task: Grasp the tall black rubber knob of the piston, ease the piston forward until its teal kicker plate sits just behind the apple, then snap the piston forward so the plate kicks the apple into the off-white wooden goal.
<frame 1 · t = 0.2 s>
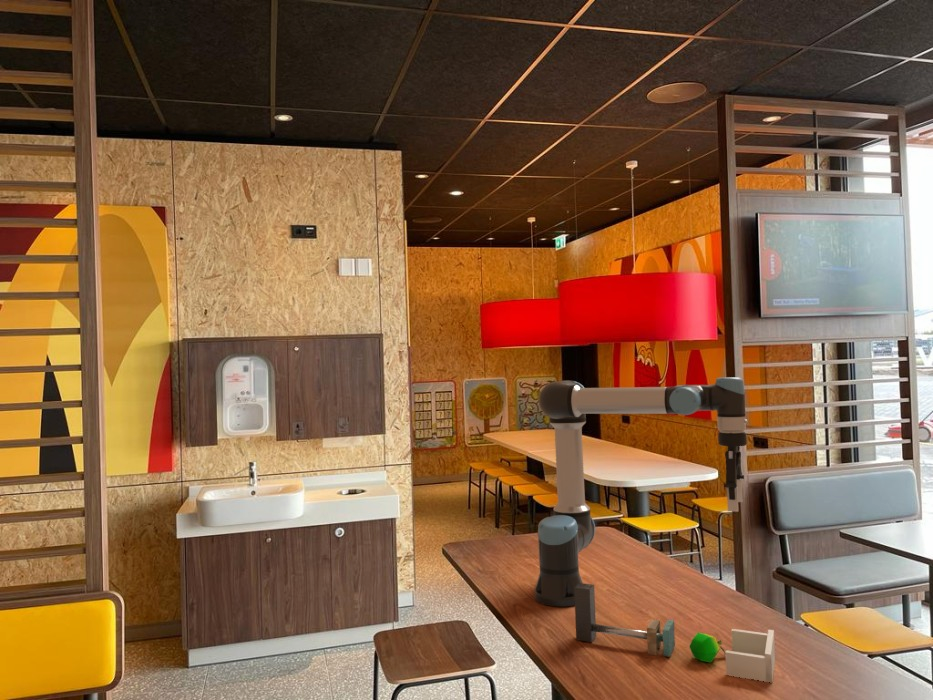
hand: (735, 506, 188), 28 cm above the table, fingers open, 13 cm apart
apple: (708, 659, 155), on the table
goal: (751, 665, 150), on the table
bearing block: (654, 650, 160), on the table
piston: (622, 617, 164), point 7 cm above the table, slide at 0.0 cm
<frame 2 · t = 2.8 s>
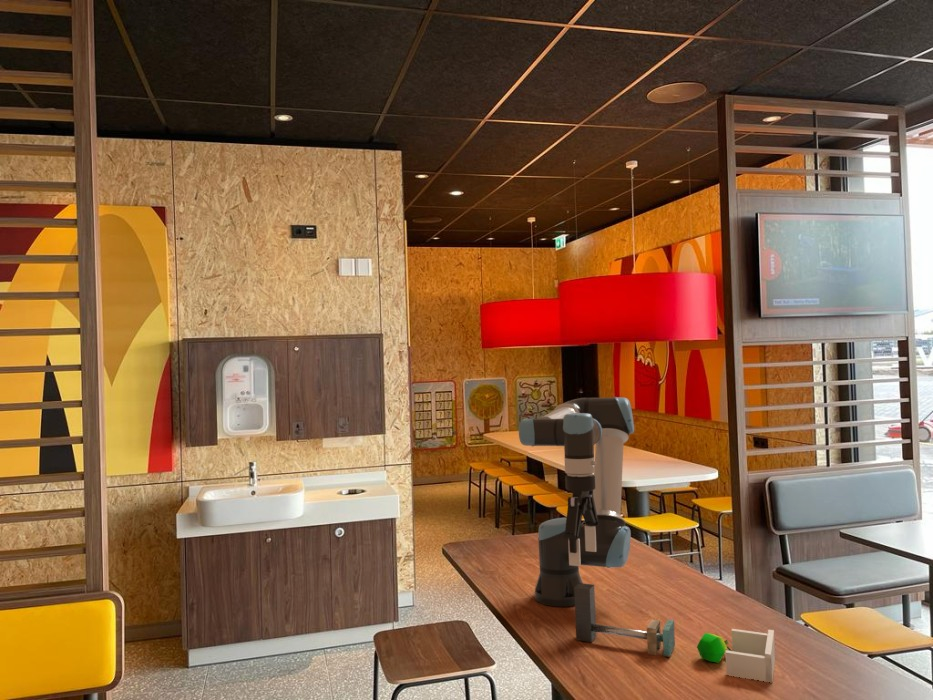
hand: (583, 558, 168), 20 cm above the table, fingers open, 13 cm apart
apple: (715, 659, 154), on the table
everything else where it was.
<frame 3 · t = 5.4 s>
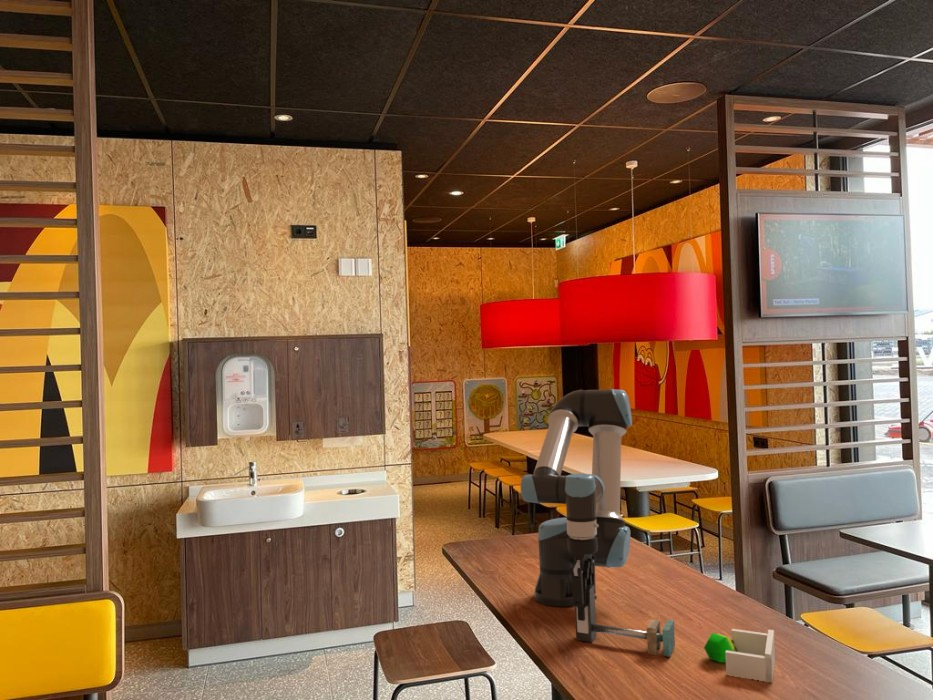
hand: (585, 628, 168), 3 cm above the table, fingers closed on piston, 4 cm apart
apple: (722, 659, 154), on the table
piston: (622, 617, 164), point 7 cm above the table, slide at 0.0 cm, touching gripper
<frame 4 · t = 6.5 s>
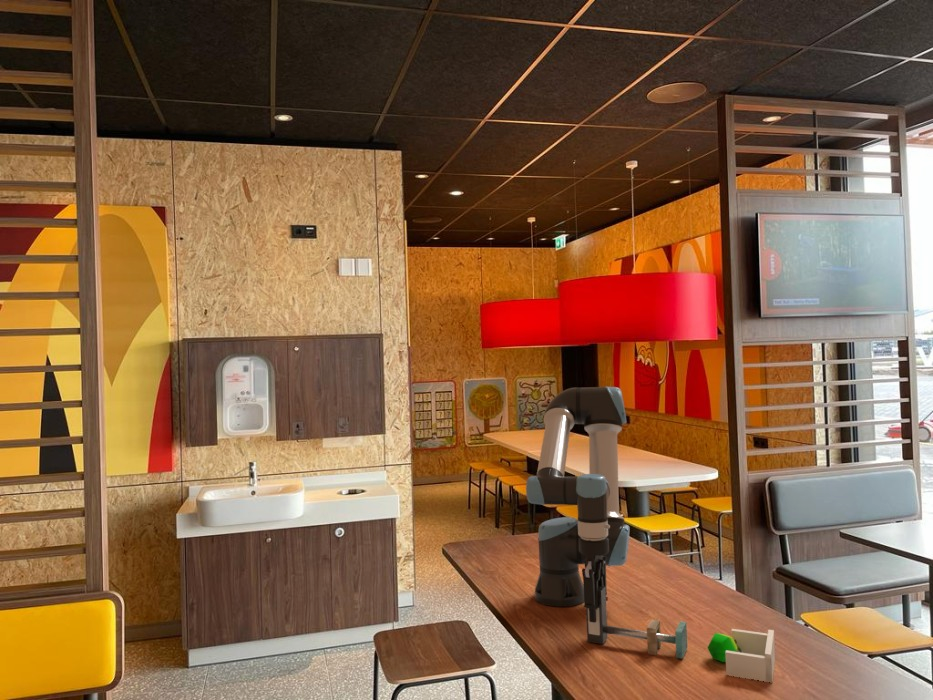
hand: (597, 630, 167), 3 cm above the table, fingers closed on piston, 4 cm apart
piston: (634, 619, 162), point 7 cm above the table, slide at 2.9 cm, touching gripper
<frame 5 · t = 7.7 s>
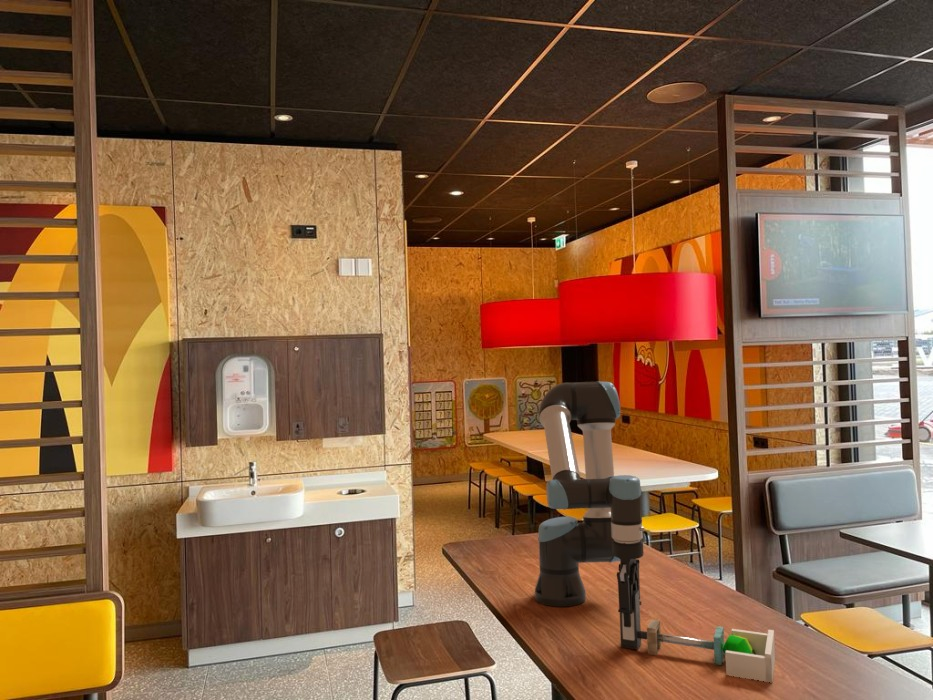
hand: (631, 635, 163), 3 cm above the table, fingers closed on piston, 4 cm apart
apple: (740, 661, 153), on the table
piston: (670, 623, 158), point 7 cm above the table, slide at 11.4 cm, touching gripper
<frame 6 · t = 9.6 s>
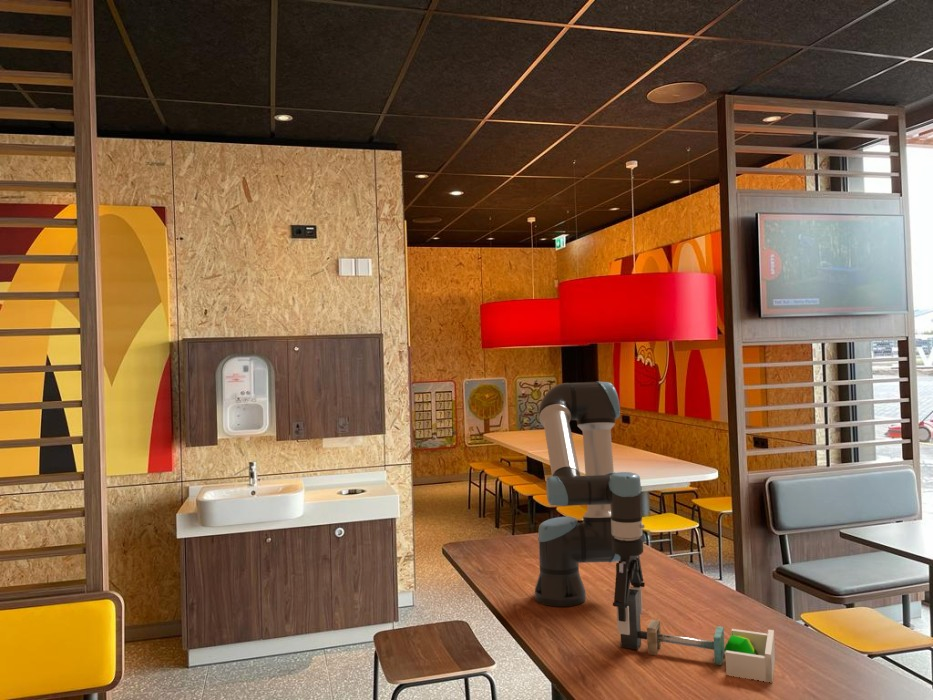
hand: (630, 623, 163), 5 cm above the table, fingers open, 13 cm apart
piston: (670, 623, 158), point 7 cm above the table, slide at 11.4 cm
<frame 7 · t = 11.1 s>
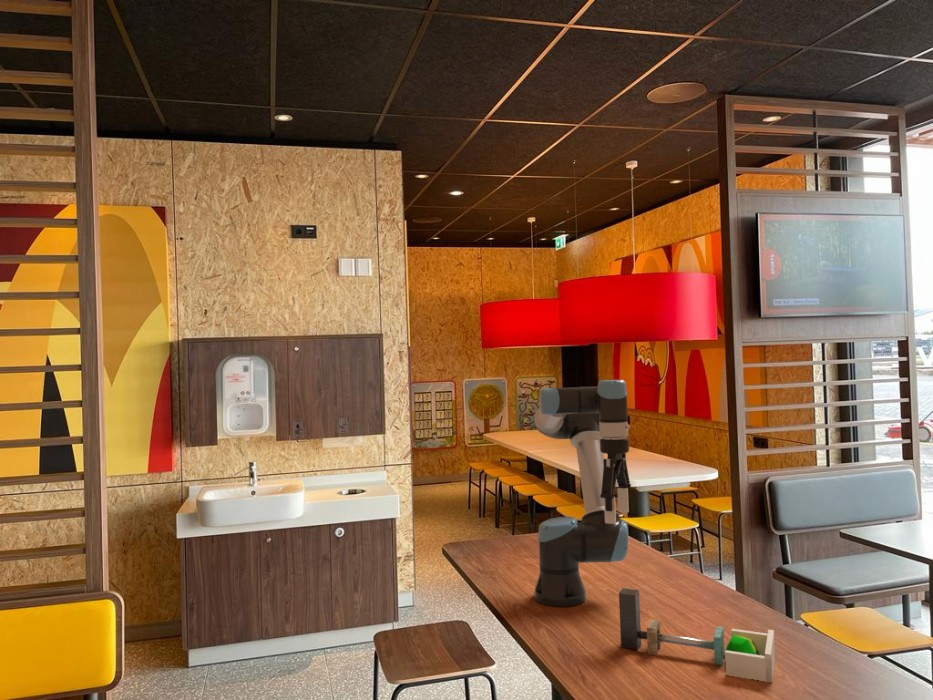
hand: (617, 517, 177), 29 cm above the table, fingers open, 13 cm apart
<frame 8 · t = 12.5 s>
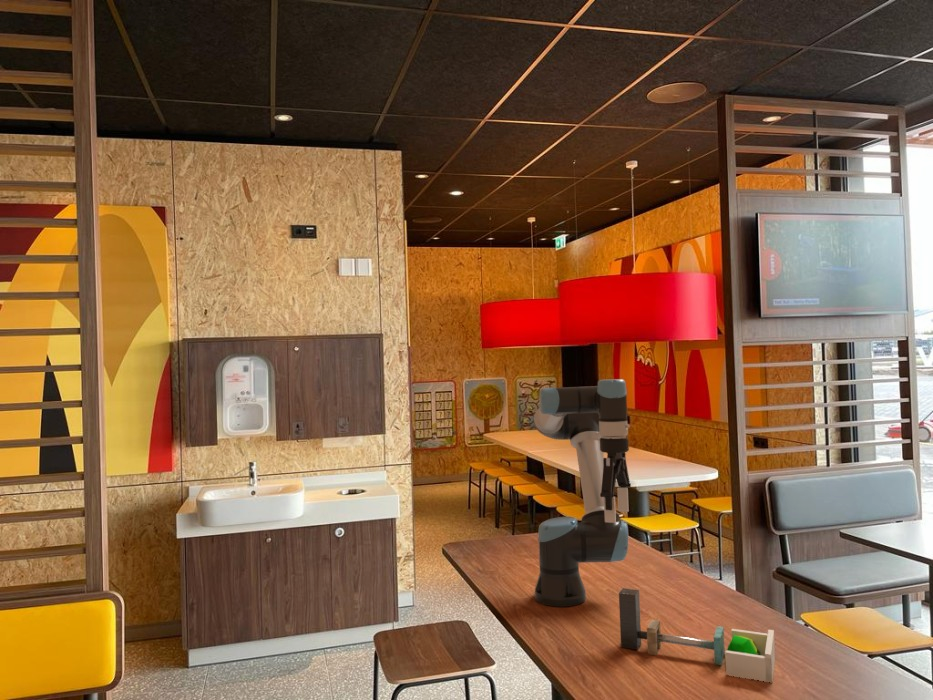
hand: (617, 516, 177), 29 cm above the table, fingers open, 13 cm apart
at the end: apple inside the target area (2.1 cm from its centre), on the table; piston slide at 11.4 cm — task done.
